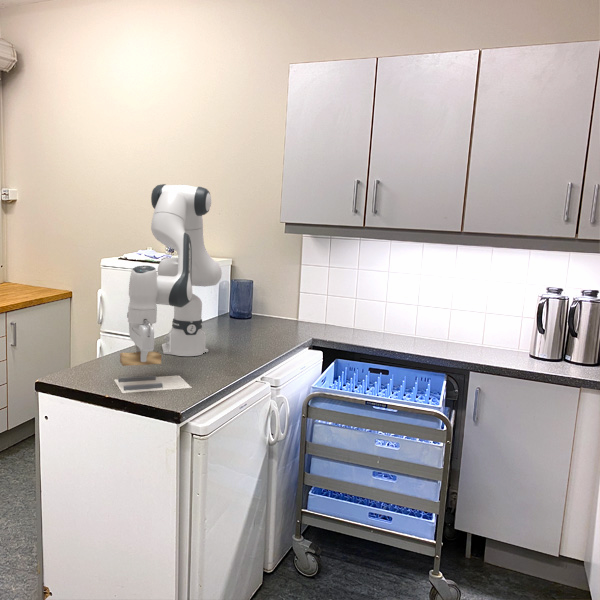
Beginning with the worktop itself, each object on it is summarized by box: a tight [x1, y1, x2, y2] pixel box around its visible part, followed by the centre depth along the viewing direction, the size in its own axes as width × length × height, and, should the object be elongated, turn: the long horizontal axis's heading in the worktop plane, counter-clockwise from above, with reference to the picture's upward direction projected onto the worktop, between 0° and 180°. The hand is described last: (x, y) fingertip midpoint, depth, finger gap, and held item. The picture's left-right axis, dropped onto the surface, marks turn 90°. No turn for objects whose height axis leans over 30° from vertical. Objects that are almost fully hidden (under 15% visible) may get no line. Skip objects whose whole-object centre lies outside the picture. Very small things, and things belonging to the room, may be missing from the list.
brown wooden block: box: [119, 351, 162, 367], centre depth 182 cm, size 12×5×3 cm, turn 118°
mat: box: [113, 375, 193, 394], centre depth 185 cm, size 15×22×2 cm
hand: (140, 359), depth 182 cm, fingers closed on brown wooden block, 5 cm apart
